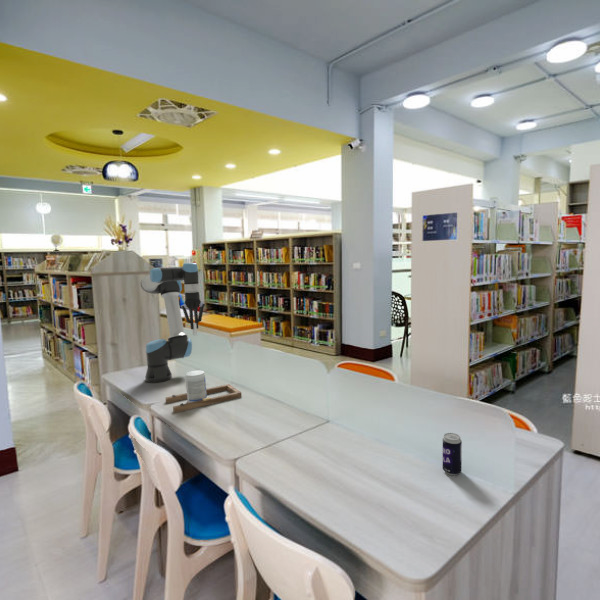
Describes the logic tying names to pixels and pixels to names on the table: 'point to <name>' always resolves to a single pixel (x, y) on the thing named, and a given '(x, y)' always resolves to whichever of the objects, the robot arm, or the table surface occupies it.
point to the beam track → (205, 401)
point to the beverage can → (452, 453)
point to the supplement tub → (195, 386)
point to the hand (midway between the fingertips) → (195, 334)
